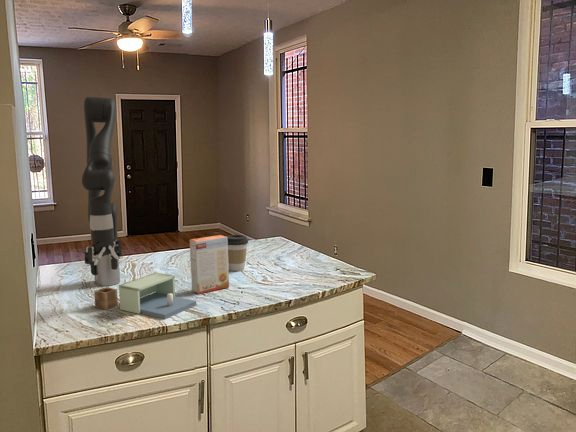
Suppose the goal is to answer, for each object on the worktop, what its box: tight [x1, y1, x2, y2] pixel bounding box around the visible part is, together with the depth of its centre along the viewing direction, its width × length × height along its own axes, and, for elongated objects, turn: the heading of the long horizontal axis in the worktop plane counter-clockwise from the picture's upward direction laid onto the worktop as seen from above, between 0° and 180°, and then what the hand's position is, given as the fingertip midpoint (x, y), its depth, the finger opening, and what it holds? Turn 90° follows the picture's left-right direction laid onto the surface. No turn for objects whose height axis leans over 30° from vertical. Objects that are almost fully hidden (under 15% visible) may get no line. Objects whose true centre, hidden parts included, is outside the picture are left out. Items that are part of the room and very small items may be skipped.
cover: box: [118, 272, 176, 314], centre depth 182 cm, size 9×18×9 cm, turn 150°
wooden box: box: [93, 286, 119, 311], centre depth 180 cm, size 5×5×6 cm
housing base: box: [140, 292, 197, 320], centre depth 180 cm, size 20×16×6 cm
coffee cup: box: [226, 234, 249, 272], centre depth 228 cm, size 11×11×15 cm
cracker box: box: [189, 234, 230, 295], centre depth 198 cm, size 14×6×21 cm, turn 127°
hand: (104, 272), depth 179 cm, fingers open, 8 cm apart
